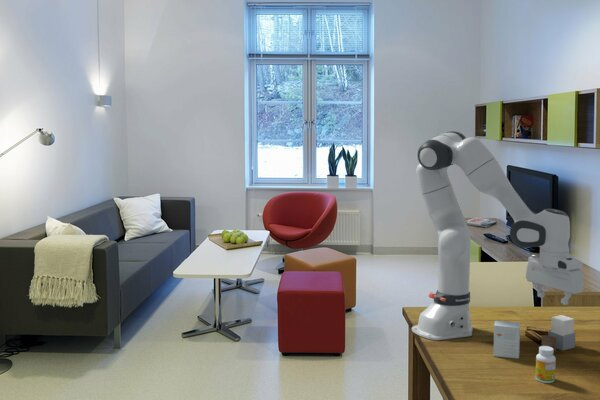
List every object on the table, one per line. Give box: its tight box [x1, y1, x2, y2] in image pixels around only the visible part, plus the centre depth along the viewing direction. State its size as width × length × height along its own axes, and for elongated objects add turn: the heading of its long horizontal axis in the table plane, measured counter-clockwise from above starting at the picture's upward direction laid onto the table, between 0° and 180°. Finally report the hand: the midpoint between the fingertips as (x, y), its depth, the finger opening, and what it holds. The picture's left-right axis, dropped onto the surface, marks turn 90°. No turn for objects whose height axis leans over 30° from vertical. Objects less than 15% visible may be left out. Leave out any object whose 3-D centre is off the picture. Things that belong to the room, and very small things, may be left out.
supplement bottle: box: [534, 346, 557, 384], centre depth 187 cm, size 5×5×10 cm
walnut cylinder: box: [541, 334, 557, 355], centre depth 209 cm, size 4×4×5 cm
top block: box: [550, 314, 575, 336], centre depth 214 cm, size 5×5×5 cm
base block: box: [547, 330, 576, 352], centre depth 214 cm, size 6×6×5 cm
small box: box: [493, 320, 521, 360], centre depth 207 cm, size 8×6×10 cm
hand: (552, 300), depth 207 cm, fingers open, 8 cm apart
